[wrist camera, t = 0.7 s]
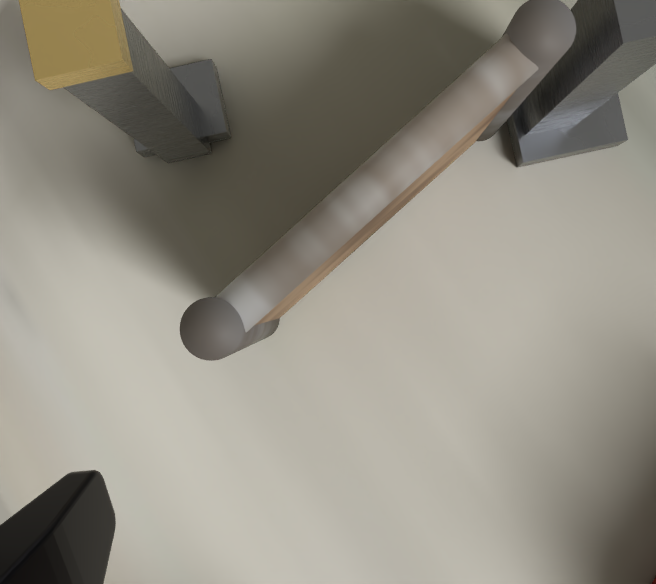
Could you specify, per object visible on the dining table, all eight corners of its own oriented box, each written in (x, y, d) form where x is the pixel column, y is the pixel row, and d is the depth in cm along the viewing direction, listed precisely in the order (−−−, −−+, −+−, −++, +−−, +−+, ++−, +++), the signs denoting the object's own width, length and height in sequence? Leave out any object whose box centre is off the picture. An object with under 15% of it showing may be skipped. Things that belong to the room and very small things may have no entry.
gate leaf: (480, 90, 26) (546, -17, 17) (508, 121, 26) (589, 30, 17) (229, 316, 26) (166, 326, 18) (257, 347, 26) (208, 373, 18)
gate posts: (582, -16, 27) (746, -240, 16) (617, 145, 27) (809, 36, 15) (129, 87, 28) (-24, -56, 16) (162, 244, 27) (31, 208, 16)
